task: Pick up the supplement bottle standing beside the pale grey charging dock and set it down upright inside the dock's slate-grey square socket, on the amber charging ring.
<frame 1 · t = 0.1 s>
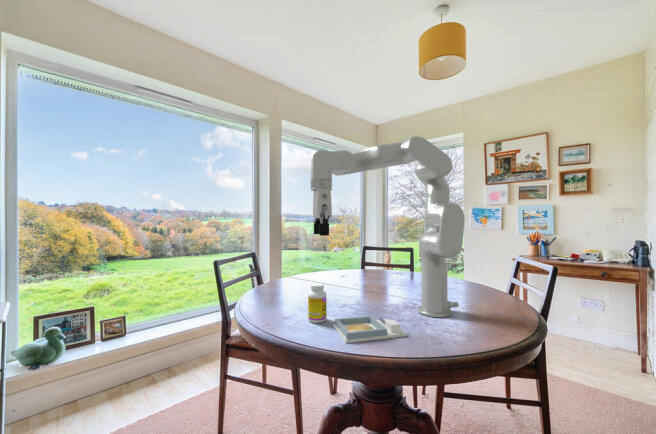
hand: (321, 234, 103), 31 cm above the table, tool pointing down, fingers open, 9 cm apart
supplement bottle: (317, 321, 105), on the table
charging dock: (368, 331, 95), on the table
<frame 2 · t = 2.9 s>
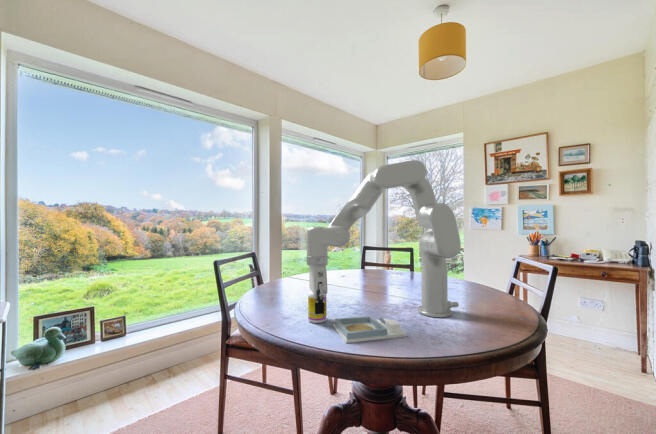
hand: (317, 310, 105), 4 cm above the table, tool pointing down, fingers closed on supplement bottle, 6 cm apart
supplement bottle: (317, 321, 105), on the table, touching gripper
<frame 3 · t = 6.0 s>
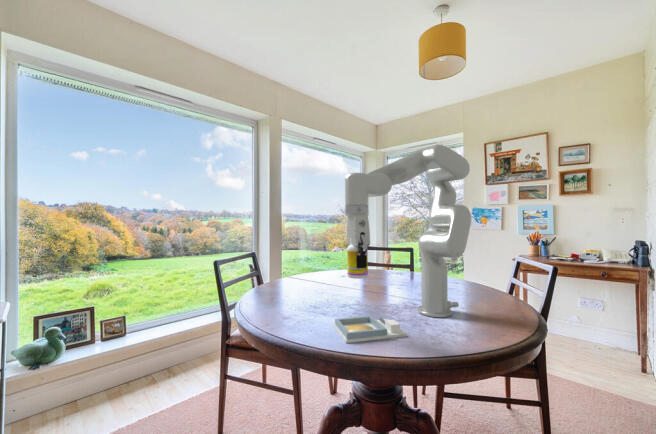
hand: (357, 265, 95), 21 cm above the table, tool pointing down, fingers closed on supplement bottle, 6 cm apart
supplement bottle: (357, 277, 95), point 17 cm above the table, touching gripper
when the fingers open (7 cm above the table, at t = 9.5 s): supplement bottle drops 2 cm, resting on charging dock.
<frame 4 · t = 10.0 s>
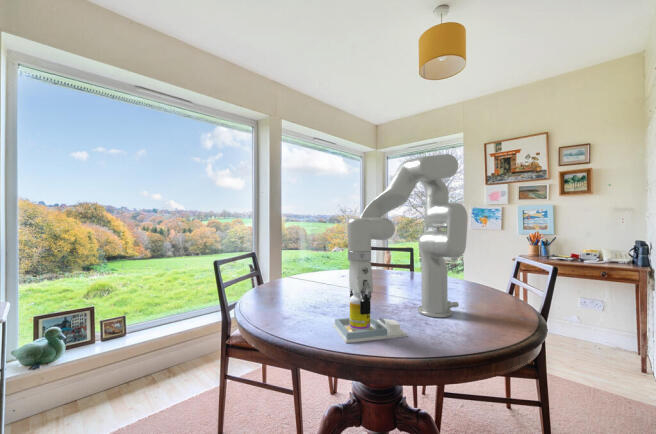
hand: (359, 309, 94), 7 cm above the table, tool pointing down, fingers open, 9 cm apart
supplement bottle: (359, 329, 94), point 1 cm above the table, touching charging dock
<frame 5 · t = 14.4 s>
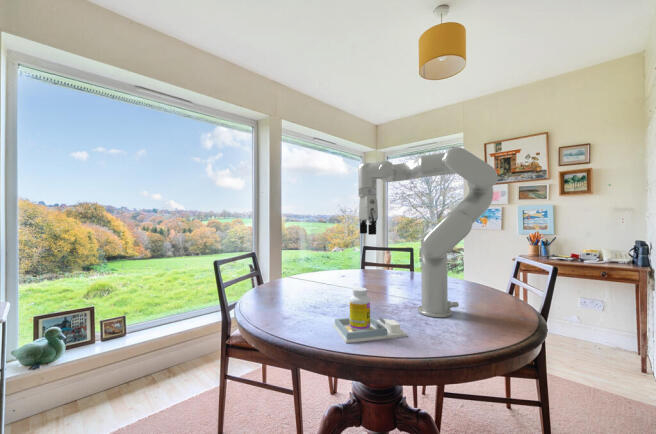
hand: (367, 233, 122), 30 cm above the table, tool pointing down, fingers open, 9 cm apart
nothing on the table moved.
at the end: supplement bottle 0.3 cm from the target spot on the charging dock, point 0.7 cm above the charging dock's base; supplement bottle tilted 0°; the gripper is holding nothing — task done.
